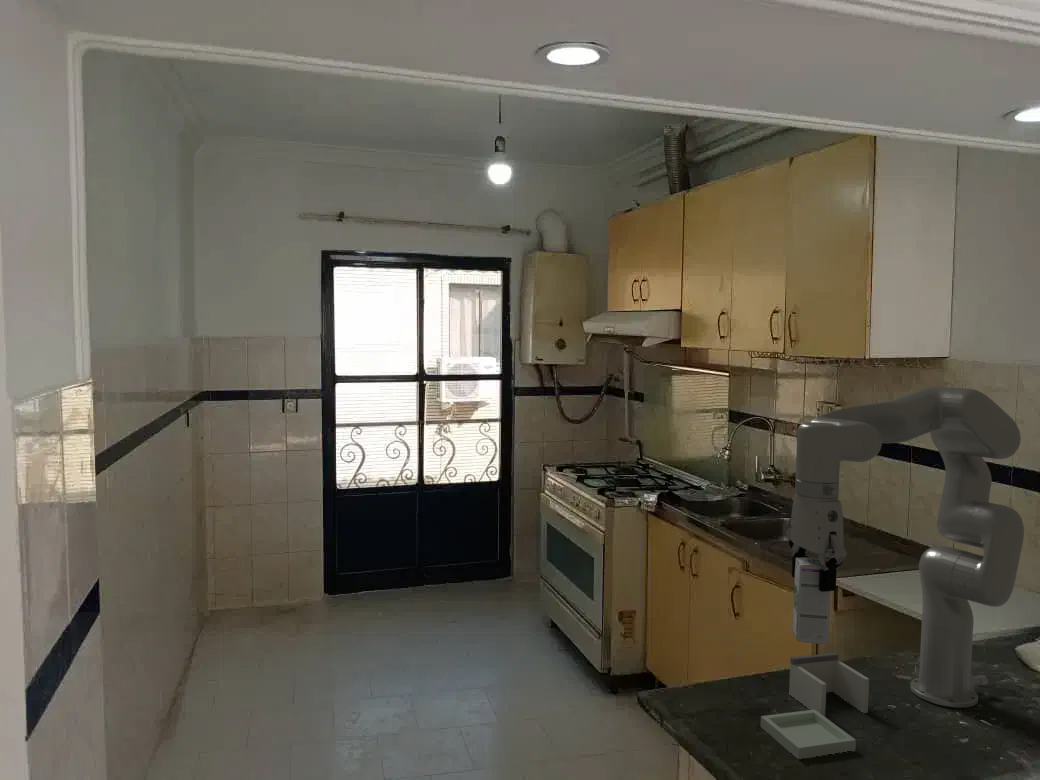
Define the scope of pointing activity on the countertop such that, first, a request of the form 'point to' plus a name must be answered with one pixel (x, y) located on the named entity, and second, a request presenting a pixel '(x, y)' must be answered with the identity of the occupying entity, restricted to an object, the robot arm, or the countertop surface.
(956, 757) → the countertop surface
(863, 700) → the bay
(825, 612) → the syrup box
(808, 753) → the tray
